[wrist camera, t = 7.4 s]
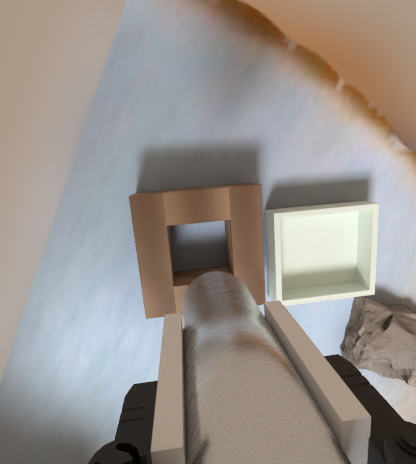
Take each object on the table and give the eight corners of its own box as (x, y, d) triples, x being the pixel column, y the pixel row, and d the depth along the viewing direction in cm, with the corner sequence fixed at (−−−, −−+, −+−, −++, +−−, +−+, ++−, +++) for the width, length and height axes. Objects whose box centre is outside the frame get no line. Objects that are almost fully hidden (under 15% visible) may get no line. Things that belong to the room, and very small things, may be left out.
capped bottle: (182, 342, 17) (193, 884, 4) (174, 272, 16) (155, 688, 3) (255, 332, 17) (479, 803, 4) (251, 263, 16) (525, 603, 3)
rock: (445, 319, 36) (476, 337, 32) (411, 379, 38) (437, 402, 34) (357, 287, 34) (379, 301, 30) (324, 351, 36) (342, 373, 32)
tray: (268, 294, 33) (276, 306, 30) (264, 209, 31) (273, 213, 28) (357, 284, 34) (374, 294, 31) (360, 200, 32) (379, 203, 29)
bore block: (150, 300, 31) (145, 318, 27) (135, 193, 29) (128, 196, 25) (255, 288, 32) (265, 304, 28) (250, 183, 30) (260, 184, 26)
